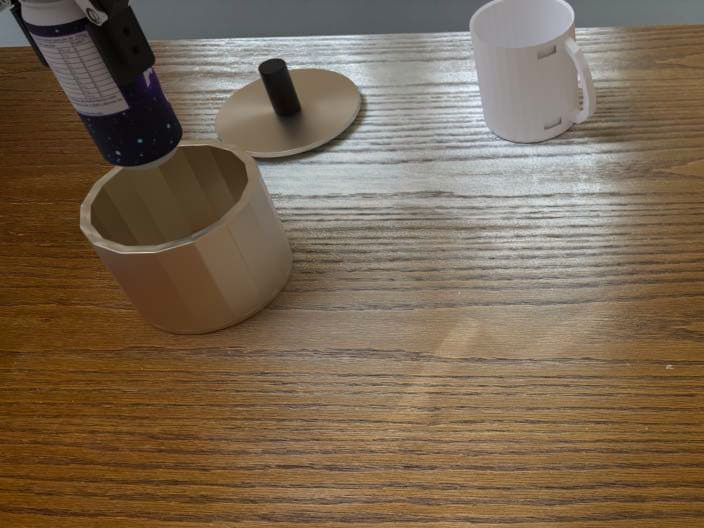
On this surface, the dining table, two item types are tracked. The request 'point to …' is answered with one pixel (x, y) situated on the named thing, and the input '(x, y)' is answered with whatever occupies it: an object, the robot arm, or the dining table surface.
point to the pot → (190, 237)
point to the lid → (288, 110)
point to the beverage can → (104, 89)
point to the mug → (530, 69)
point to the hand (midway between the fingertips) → (99, 62)
